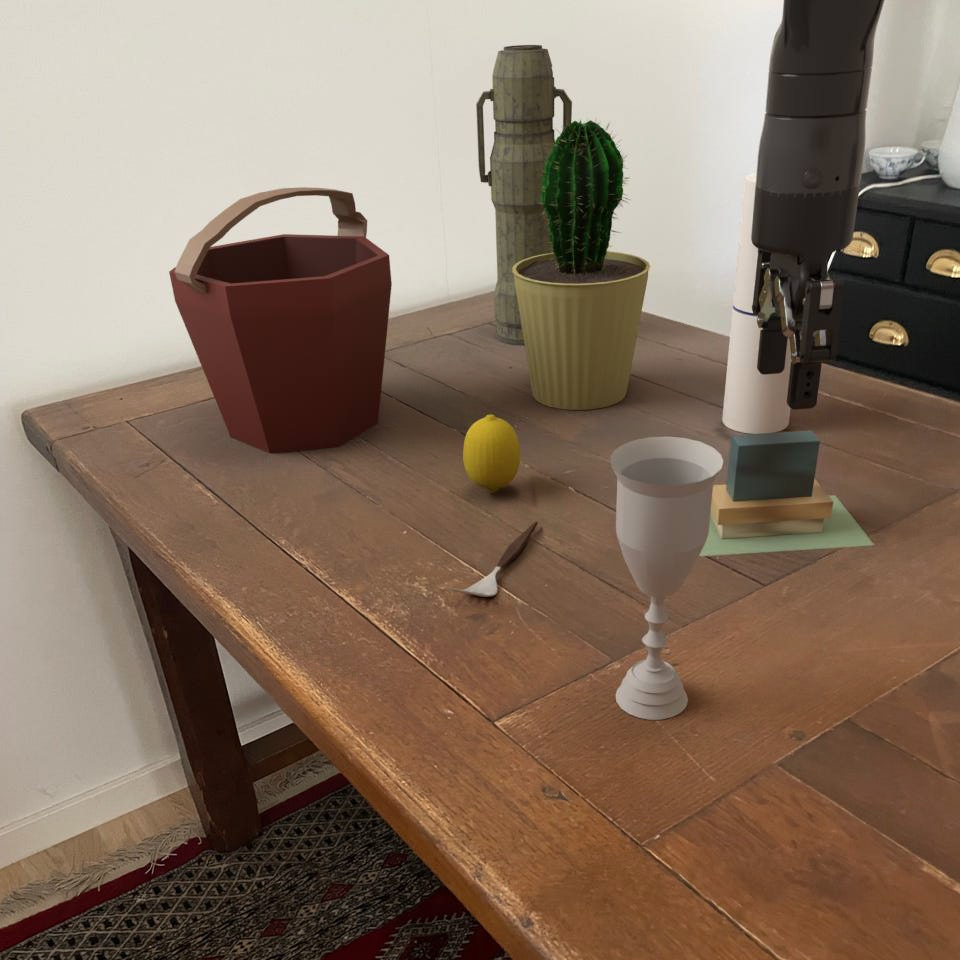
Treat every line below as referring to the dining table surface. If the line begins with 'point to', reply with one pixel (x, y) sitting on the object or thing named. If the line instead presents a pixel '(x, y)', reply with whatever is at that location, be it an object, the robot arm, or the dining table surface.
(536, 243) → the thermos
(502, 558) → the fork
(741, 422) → the cylindrical container
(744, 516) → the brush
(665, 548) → the chalice
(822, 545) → the mat
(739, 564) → the dining table surface
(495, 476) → the lemon
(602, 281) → the potted cactus
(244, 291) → the bucket
